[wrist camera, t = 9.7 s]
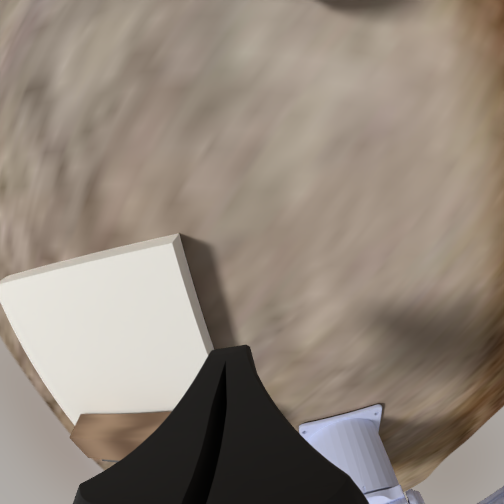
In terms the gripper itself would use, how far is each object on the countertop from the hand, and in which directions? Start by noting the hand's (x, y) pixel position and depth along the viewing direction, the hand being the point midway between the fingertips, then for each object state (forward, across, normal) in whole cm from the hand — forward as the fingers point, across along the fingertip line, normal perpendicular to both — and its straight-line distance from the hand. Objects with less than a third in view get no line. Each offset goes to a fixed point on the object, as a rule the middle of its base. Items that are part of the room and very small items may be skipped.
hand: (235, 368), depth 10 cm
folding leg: (+7, +10, +11) cm, 17 cm away
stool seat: (+9, +11, +6) cm, 16 cm away
